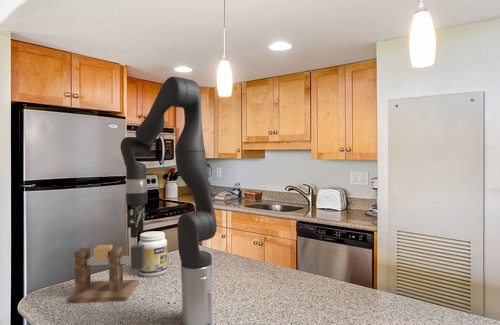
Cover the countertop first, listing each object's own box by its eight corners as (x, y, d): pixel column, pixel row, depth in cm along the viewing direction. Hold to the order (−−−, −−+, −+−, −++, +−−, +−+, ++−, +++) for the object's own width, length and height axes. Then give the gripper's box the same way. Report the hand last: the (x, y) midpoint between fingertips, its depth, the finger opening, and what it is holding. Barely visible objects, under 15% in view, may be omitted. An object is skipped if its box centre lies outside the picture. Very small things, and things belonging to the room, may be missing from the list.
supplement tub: (157, 279, 137) (156, 237, 136) (132, 276, 141) (131, 236, 140) (173, 269, 148) (172, 231, 148) (149, 266, 152) (148, 229, 152)
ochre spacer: (112, 255, 126) (112, 244, 126) (107, 259, 121) (107, 248, 121) (98, 255, 126) (98, 244, 126) (93, 259, 121) (93, 248, 121)
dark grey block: (144, 265, 126) (144, 244, 126) (142, 268, 123) (142, 246, 123) (77, 268, 124) (76, 246, 124) (73, 270, 121) (73, 249, 121)
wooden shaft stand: (138, 283, 132) (137, 243, 132) (126, 300, 116) (125, 255, 116) (86, 285, 131) (85, 244, 131) (67, 303, 115) (66, 257, 115)
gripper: (142, 193, 117) (142, 239, 117) (151, 189, 131) (152, 230, 131) (120, 193, 116) (120, 239, 117) (131, 189, 130) (132, 230, 131)
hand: (137, 234), depth 124 cm, fingers open, 8 cm apart
